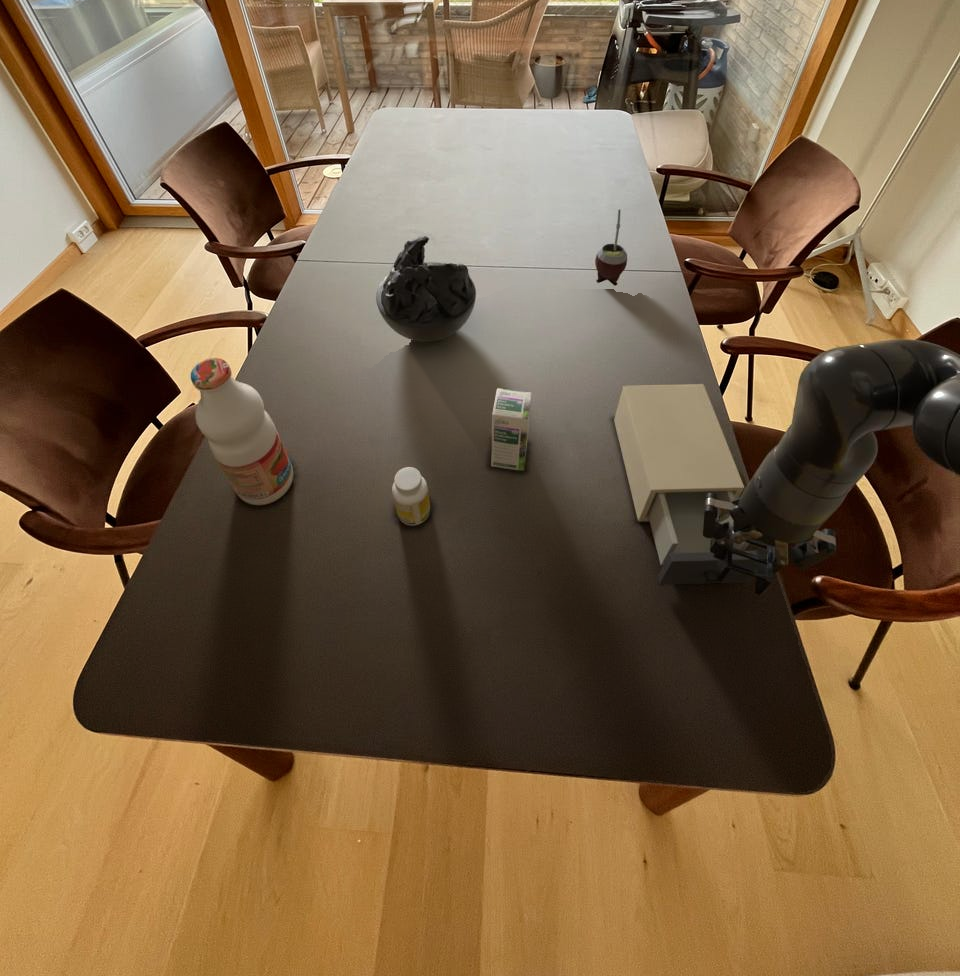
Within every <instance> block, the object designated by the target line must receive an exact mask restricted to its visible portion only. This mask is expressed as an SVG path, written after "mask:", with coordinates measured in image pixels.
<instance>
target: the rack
mask: <svg viewBox="0 0 960 976" xmlns="http://www.w3.org/2000/svg"><path fill="white" fill-rule="evenodd" d="M729 517H730V516H729ZM729 517H728V518H729ZM745 542H747V543H750V544H749V545H753V546H756V551H757V553H756V555H754V554H751V553H748V552H745V551H746V550H745V551H742V550H739V549H736V548H733V543H732V544H729V545H728V548H727V549H726V551H725V552H724V554H723V555H722V556H721V558H720V559H718V565H717V576H716V580H717V581H720V582H721V581H722V580H723V579H724V577H725V576H726V575H727V574H728V572H729V571H730V570H731V569H733V570H736V571H738V572H741V573H744V574H747V575H750V577H753V578H754V579H755V582H754V595H757V596H761V595H762V594H763V592H765V591H766V590H767V588H768V587H769V586H770V585H772V583H773V573H772V565H773V546H770V545H767V544H765V543H763V542H761V541H757V540H752V539H750V540H748V541H745ZM733 554H736V555H739V556H742V557H745V558H748V559H751V560H754V561H756V570H755V571H753V570H750V569H747V568H744V567H741V566H738V565H735V564H732V555H733Z"/></svg>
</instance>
